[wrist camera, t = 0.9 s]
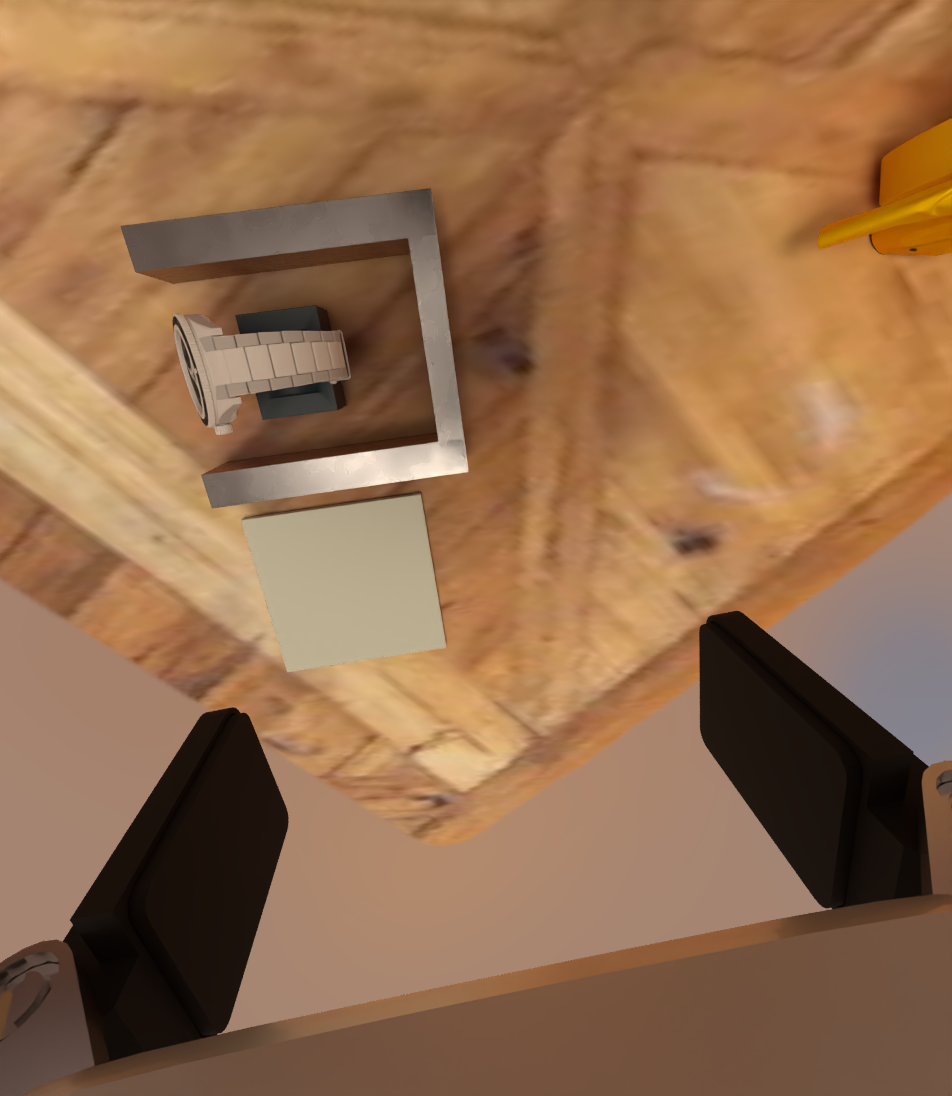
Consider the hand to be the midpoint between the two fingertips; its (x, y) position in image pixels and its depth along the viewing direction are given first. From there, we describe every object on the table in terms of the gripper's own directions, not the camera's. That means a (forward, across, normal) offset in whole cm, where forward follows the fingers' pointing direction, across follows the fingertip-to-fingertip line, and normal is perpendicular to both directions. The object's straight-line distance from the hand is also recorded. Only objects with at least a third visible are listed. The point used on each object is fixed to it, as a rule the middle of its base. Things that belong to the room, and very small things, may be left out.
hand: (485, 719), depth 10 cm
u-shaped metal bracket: (+26, +6, -8) cm, 27 cm away
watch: (+26, +8, -8) cm, 28 cm away
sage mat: (+25, +8, +7) cm, 28 cm away
